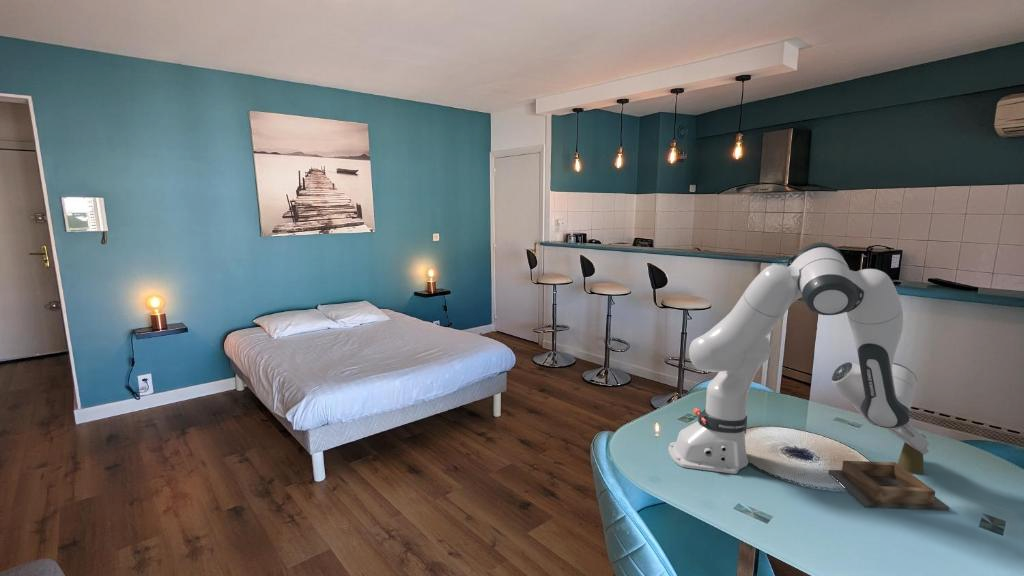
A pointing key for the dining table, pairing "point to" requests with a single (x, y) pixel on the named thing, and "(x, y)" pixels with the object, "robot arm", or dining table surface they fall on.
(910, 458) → the cork
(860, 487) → the collar
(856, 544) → the dining table surface
